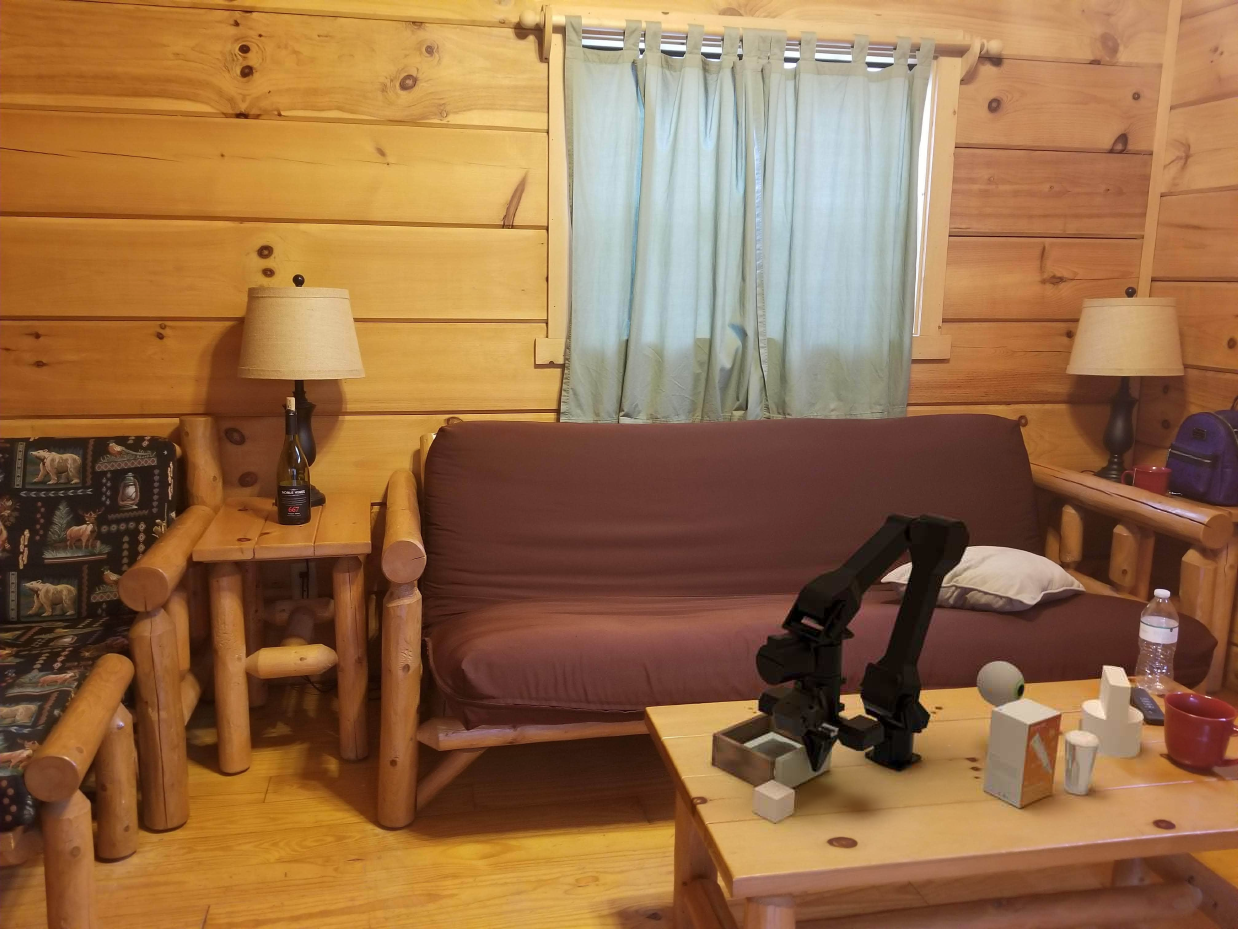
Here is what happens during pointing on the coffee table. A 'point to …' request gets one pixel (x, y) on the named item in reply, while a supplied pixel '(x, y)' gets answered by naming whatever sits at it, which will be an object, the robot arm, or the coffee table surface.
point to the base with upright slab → (1114, 716)
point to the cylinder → (775, 749)
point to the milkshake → (1079, 760)
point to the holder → (747, 749)
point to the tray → (791, 762)
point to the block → (773, 801)
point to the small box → (1022, 752)
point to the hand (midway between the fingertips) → (816, 771)
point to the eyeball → (1000, 683)
